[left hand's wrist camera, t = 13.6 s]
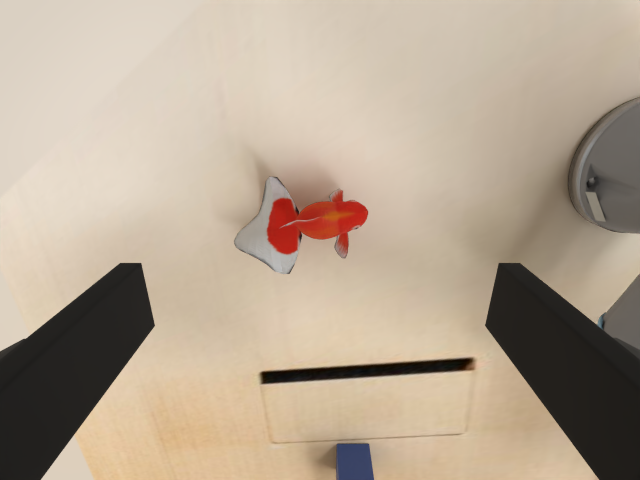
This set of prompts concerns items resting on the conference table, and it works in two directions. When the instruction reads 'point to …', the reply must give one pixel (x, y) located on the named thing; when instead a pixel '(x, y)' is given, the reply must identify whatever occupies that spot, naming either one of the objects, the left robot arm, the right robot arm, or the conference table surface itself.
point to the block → (354, 462)
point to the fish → (296, 226)
